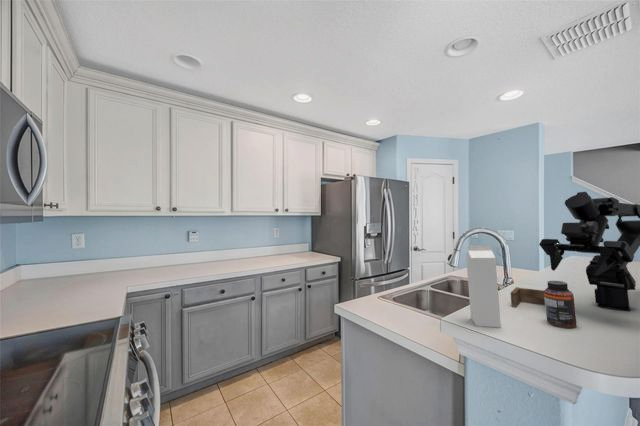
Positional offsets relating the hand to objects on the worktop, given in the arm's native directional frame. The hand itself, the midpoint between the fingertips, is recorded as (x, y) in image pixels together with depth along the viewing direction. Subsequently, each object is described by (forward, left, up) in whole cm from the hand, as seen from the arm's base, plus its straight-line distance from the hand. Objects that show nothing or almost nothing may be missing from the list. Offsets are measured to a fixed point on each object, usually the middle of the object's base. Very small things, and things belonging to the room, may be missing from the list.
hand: (572, 272), depth 72 cm
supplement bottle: (+3, +7, -13) cm, 15 cm away
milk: (+18, +18, -13) cm, 28 cm away
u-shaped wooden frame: (+10, -5, -13) cm, 17 cm away
